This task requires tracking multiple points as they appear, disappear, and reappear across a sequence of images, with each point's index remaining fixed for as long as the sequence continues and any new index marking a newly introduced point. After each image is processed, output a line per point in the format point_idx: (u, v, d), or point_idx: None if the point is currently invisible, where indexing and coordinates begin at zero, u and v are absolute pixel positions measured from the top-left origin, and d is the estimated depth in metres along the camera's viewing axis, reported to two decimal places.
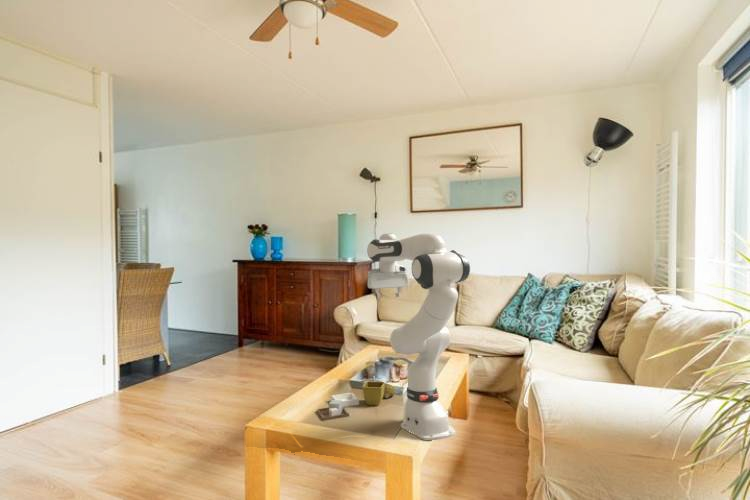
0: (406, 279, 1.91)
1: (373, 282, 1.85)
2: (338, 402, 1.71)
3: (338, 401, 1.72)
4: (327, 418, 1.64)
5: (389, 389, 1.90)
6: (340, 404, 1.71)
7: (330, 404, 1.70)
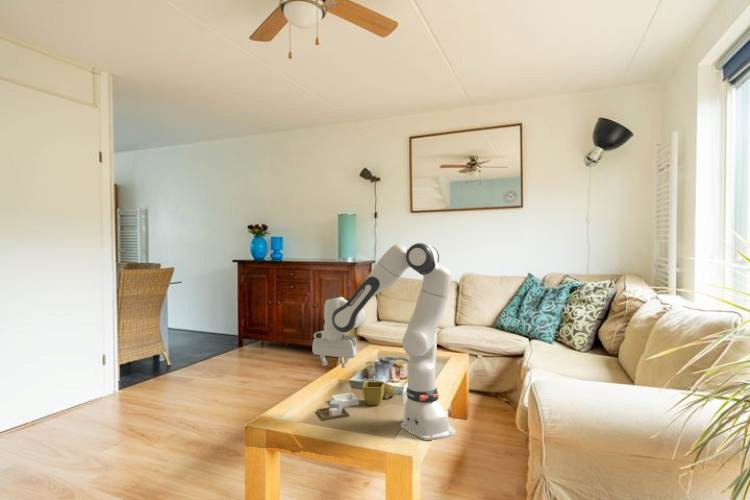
0: None
1: None
2: (338, 402, 1.71)
3: (338, 401, 1.72)
4: (327, 418, 1.64)
5: (389, 390, 1.90)
6: (340, 404, 1.71)
7: (330, 404, 1.70)
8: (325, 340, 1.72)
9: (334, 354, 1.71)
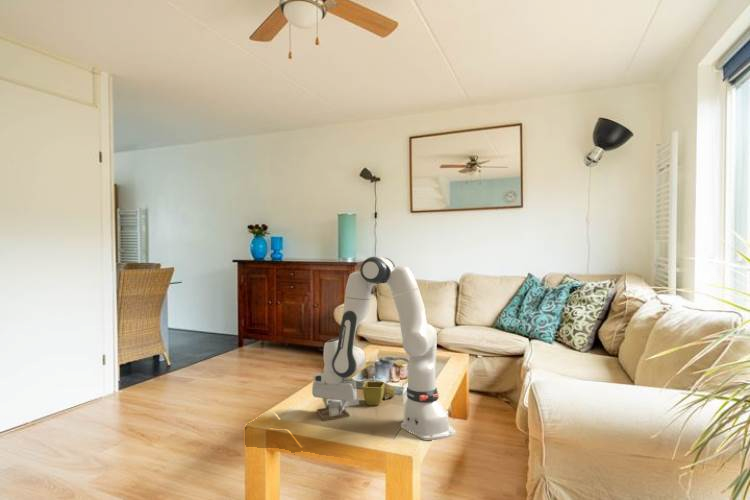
0: None
1: None
2: (338, 402, 1.71)
3: (338, 401, 1.72)
4: (327, 418, 1.64)
5: (389, 390, 1.89)
6: (340, 404, 1.71)
7: (330, 404, 1.70)
8: (325, 383, 1.71)
9: (334, 397, 1.70)
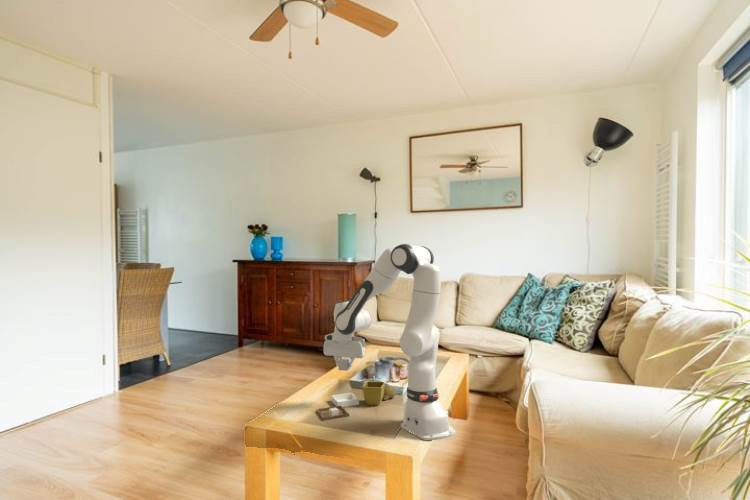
0: None
1: None
2: (347, 359, 1.84)
3: (347, 359, 1.85)
4: (327, 418, 1.64)
5: (388, 391, 1.88)
6: (349, 362, 1.84)
7: (339, 361, 1.83)
8: (335, 342, 1.84)
9: (344, 355, 1.82)
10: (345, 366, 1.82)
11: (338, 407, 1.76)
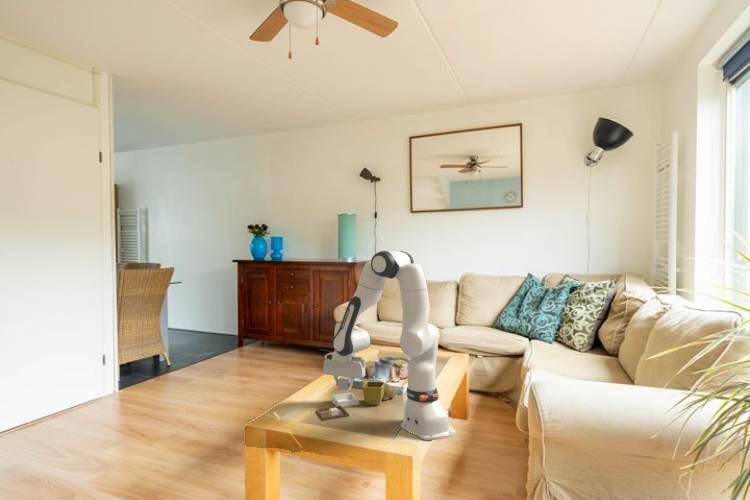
0: None
1: None
2: (347, 379, 1.84)
3: (347, 378, 1.85)
4: (327, 418, 1.64)
5: (388, 391, 1.87)
6: (349, 381, 1.84)
7: (339, 380, 1.83)
8: (335, 361, 1.84)
9: (344, 374, 1.82)
10: (344, 386, 1.82)
11: (338, 407, 1.76)
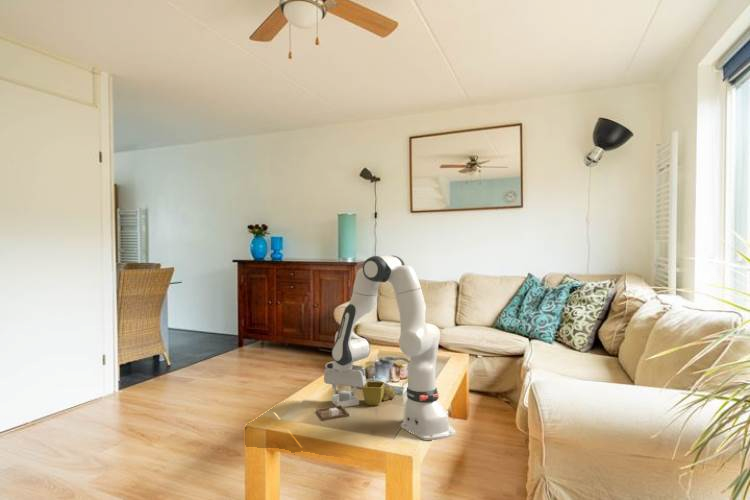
0: None
1: None
2: (347, 393, 1.84)
3: (348, 392, 1.85)
4: (327, 418, 1.64)
5: (388, 391, 1.87)
6: (350, 395, 1.84)
7: (340, 394, 1.83)
8: (336, 370, 1.84)
9: (345, 383, 1.82)
10: (345, 400, 1.82)
11: (338, 407, 1.76)
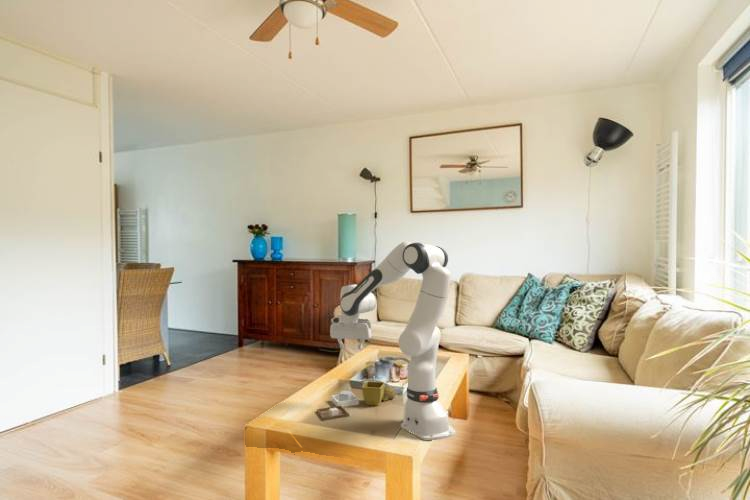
0: None
1: None
2: (347, 393, 1.84)
3: (348, 392, 1.85)
4: (327, 418, 1.64)
5: (388, 392, 1.86)
6: (350, 395, 1.84)
7: (340, 394, 1.83)
8: (342, 324, 1.88)
9: (351, 337, 1.86)
10: (345, 400, 1.82)
11: (338, 407, 1.76)
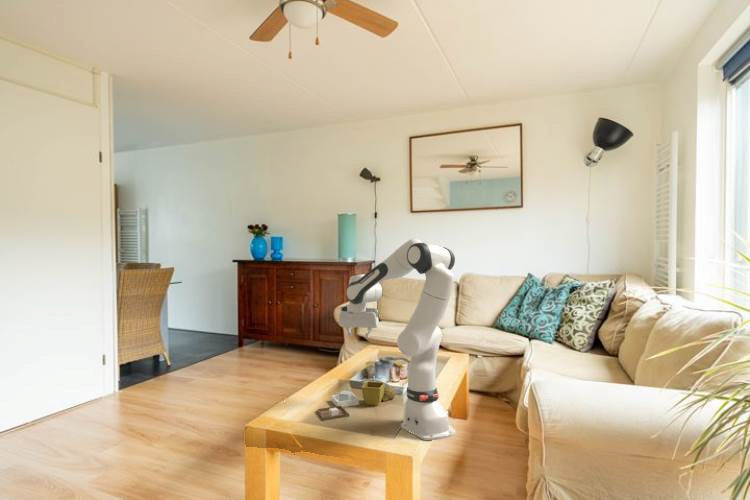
0: None
1: None
2: (347, 393, 1.84)
3: (348, 392, 1.85)
4: (327, 418, 1.64)
5: (388, 392, 1.86)
6: (350, 395, 1.84)
7: (340, 394, 1.83)
8: (350, 313, 1.93)
9: (359, 325, 1.91)
10: (345, 400, 1.82)
11: (338, 407, 1.76)
